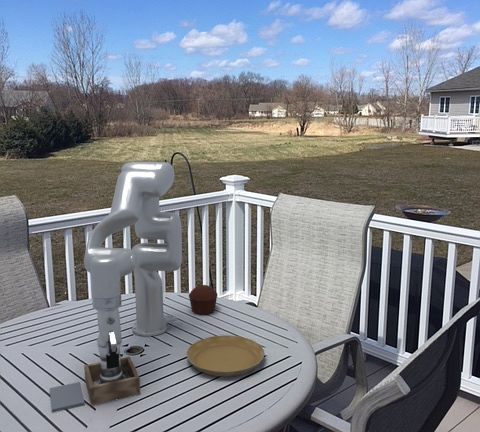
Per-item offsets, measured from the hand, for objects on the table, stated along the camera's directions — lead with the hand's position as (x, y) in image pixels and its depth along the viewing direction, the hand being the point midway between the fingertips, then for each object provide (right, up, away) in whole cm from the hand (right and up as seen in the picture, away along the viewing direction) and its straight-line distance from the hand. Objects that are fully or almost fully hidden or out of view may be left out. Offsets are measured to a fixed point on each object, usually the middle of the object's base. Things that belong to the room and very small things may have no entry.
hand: (110, 359), depth 133 cm
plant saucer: (+31, -6, +17) cm, 36 cm away
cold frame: (0, -9, +2) cm, 9 cm away
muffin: (+22, +2, +56) cm, 60 cm away
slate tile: (-11, -9, -3) cm, 15 cm away
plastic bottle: (0, -9, +2) cm, 9 cm away
